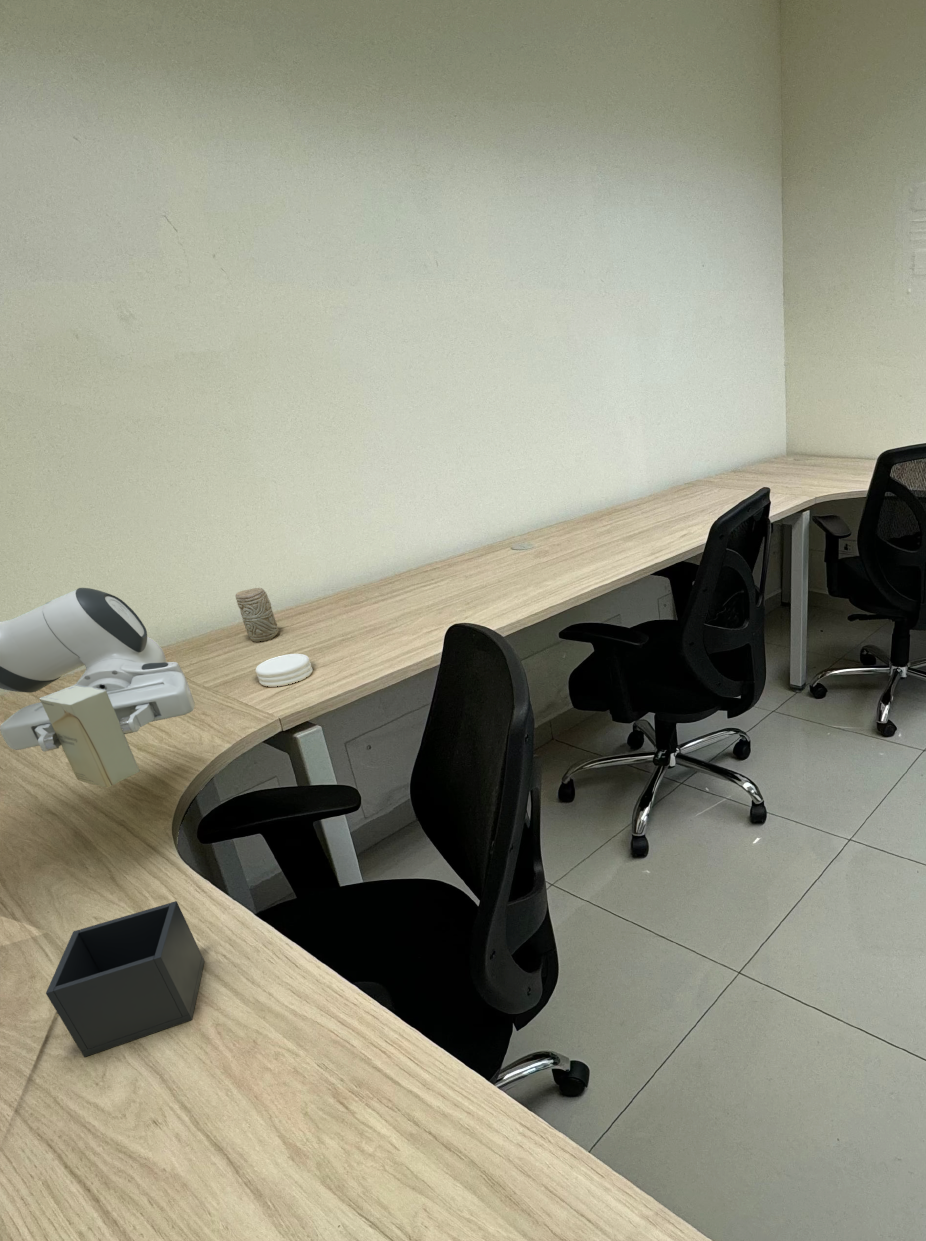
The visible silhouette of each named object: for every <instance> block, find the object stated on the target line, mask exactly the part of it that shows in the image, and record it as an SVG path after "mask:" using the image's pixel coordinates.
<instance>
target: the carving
mask: <svg viewBox="0 0 926 1241" xmlns="http://www.w3.org/2000/svg"><path fill="white" fill-rule="evenodd" d="M234 597H235V600H236V604H237V607H238V609H239V612H240V615H241V620H242V623H243V624H244V629H245V632H246V633H247V635H248V638H249V639H250V640H251V641H252V642H255V643H260V641H261V642H267V641H269V640H271V639H273V638H275V637H276V636H277V635H278V633H279V626H278V623H277V621H276V618H275V617H276V616H275V614H274V610H273V607H272V603H271V601H270V599H269V596H268V593H267V592H266V591H265V590H264V588H262V587H254V588H249V589H245V590H240V591H238V592H236V593H235V596H234Z"/></svg>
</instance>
